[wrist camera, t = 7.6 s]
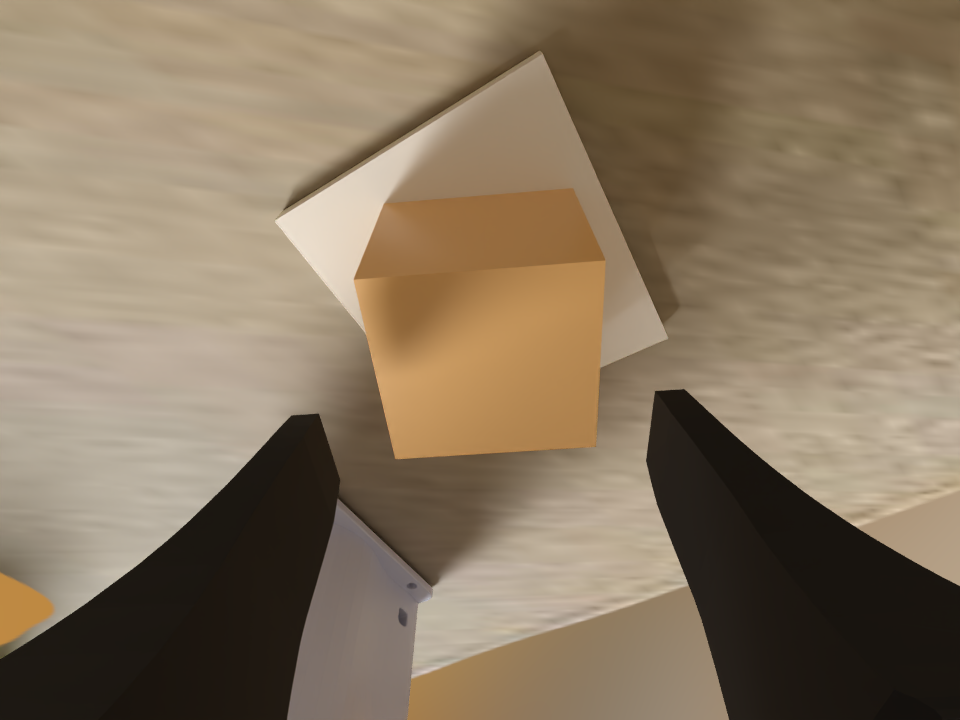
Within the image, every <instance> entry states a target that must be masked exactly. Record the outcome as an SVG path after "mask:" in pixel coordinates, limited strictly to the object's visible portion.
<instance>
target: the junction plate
mask: <svg viewBox="0 0 960 720" xmlns="http://www.w3.org/2000/svg"><path fill="white" fill-rule="evenodd" d="M568 188H573V189H574V191H575V194H576V196H577V198H578V200H579V202H580V205H581V207H582V209H583V211H584V213H585V216H586V218H587V220H588V222H589V224H590V227H591V229H592V231H593V233H594V235H595V238H596V240H597V242H598V244H599V246H600V249H601V251H602V253H603V255H604V258H605V260H606V267H605V286H604V304H603V323H602V342H601V360H600V368H601V367H604V366H606V365H608V364H611V363H613V362H615V361H618V360H620V359H622V358H624V357H627V356H629V355H631V354H634V353H636V352H638V351H641V350H643V349H645V348H647V347H650V346H652V345H654V344H657V343H659V342H661V341H664V340H666V339H668V336H667V334H666V331H665V329H664V327H663V325H662V322H661V320H660V318H659V316H658V313H657V311H656V309H655V307H654V304H653V302H652V300H651V298H650V295H649V293H648V291H647V289H646V286H645V284H644V282H643V279H642V277H641V275H640V273H639V270H638V268H637V266H636V264H635V261H634V259H633V257H632V255H631V252H630V250H629V248H628V246H627V243H626V241H625V239H624V236H623V234H622V232H621V230H620V227H619V225H618V223H617V221H616V218H615V216H614V214H613V212H612V209H611V207H610V205H609V203H608V200H607V198H606V196H605V193H604V191H603V189H602V187H601V184H600V182H599V180H598V178H597V175H596V173H595V171H594V169H593V166H592V164H591V162H590V160H589V157H588V155H587V153H586V150H585V148H584V146H583V144H582V141H581V139H580V137H579V135H578V132H577V130H576V128H575V126H574V123H573V121H572V119H571V117H570V114H569V112H568V110H567V107H566V105H565V103H564V101H563V98H562V96H561V94H560V92H559V89H558V87H557V85H556V83H555V80H554V78H553V76H552V74H551V71H550V69H549V67H548V64H547V62H546V60H545V58H544V55H543V53H542V52H541V51H538V52H536V53H535V54H533V55H532V56H530V57H528V58H527V59H525V60H524V61H522V62H520V63H519V64H517V65H516V66H514V67H512V68H511V69H509V70H508V71H506V72H504V73H503V74H501V75H500V76H498V77H496V78H495V79H493V80H492V81H490V82H488V83H487V84H485V85H484V86H482V87H480V88H479V89H477V90H476V91H474V92H472V93H471V94H469V95H468V96H466V97H464V98H463V99H461V100H460V101H458V102H456V103H455V104H453V105H452V106H450V107H448V108H447V109H445V110H444V111H442V112H440V113H439V114H437V115H436V116H434V117H432V118H431V119H429V120H428V121H426V122H424V123H423V124H421V125H420V126H418V127H416V128H415V129H413V130H412V131H410V132H408V133H407V134H405V135H404V136H402V137H400V138H399V139H397V140H396V141H394V142H392V143H391V144H389V145H388V146H386V147H384V148H383V149H381V150H380V151H378V152H376V153H375V154H373V155H372V156H370V157H368V158H367V159H365V160H364V161H362V162H360V163H359V164H357V165H356V166H354V167H352V168H351V169H349V170H348V171H346V172H344V173H343V174H341V175H340V176H338V177H336V178H335V179H333V180H332V181H330V182H328V183H327V184H325V185H324V186H322V187H320V188H319V189H317V190H316V191H314V192H312V193H311V194H309V195H308V196H306V197H304V198H303V199H301V200H300V201H298V202H296V203H295V204H293V205H292V206H290V207H288V208H287V209H285V210H284V211H282V212H281V213H280V215H279V216H278V217H277V218H276V220H275V222H276V223H277V225H278V226H279V227H280V228H281V230H282V231H283V232H284V233H285V235H286V236H287V237H288V238H289V239H290V241H291V242H292V243H293V244H294V246H295V247H296V248H297V249H298V251H299V252H300V253H301V254H302V256H303V257H304V258H305V259H306V260H307V262H308V263H309V264H310V265H311V267H312V268H313V269H314V270H315V272H316V273H317V274H318V275H319V277H320V278H321V279H322V280H323V281H324V283H325V284H326V285H327V286H328V288H329V289H330V290H331V291H332V293H333V294H334V295H335V296H336V298H337V299H338V300H339V301H340V302H341V304H342V305H343V306H344V307H345V309H346V310H347V311H348V312H349V314H350V315H351V316H352V317H353V319H354V320H355V321H356V322H357V323H358V325H359V326H360V327H361V328H362V330H363V331H364V332H365V333H366V331H365V327H364V323H363V319H362V314H361V310H360V306H359V301H358V297H357V293H356V289H355V284H354V280H353V279H354V277H355V274H356V272H357V269H358V267H359V264H360V262H361V259H362V257H363V254H364V252H365V249H366V247H367V244H368V242H369V239H370V237H371V234H372V232H373V229H374V227H375V224H376V222H377V219H378V217H379V215H380V212H381V210H382V207H383V205H384V203H397V202H409V201H421V200H433V199H446V198H458V197H470V196H482V195H495V194H507V193H519V192H531V191H544V190H556V189H568Z"/></svg>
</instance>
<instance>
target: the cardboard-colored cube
mask: <svg viewBox="0 0 960 720" xmlns="http://www.w3.org/2000/svg"><path fill="white" fill-rule="evenodd" d="M605 267H606V260H605V258H604V255H603V253H602V251H601V249H600V246H599V244H598V242H597V240H596V238H595V235H594V233H593V231H592V229H591V227H590V224H589V222H588V220H587V218H586V216H585V213H584V211H583V209H582V207H581V205H580V202H579V200H578V198H577V196H576V194H575V191H574V189H573V188H568V189H556V190H544V191H531V192H519V193H507V194H495V195H482V196H470V197H458V198H446V199H433V200H421V201H409V202H397V203H384V205H383V207H382V210H381V212H380V215H379V217H378V219H377V222H376V224H375V227H374V229H373V232H372V234H371V237H370V239H369V242H368V244H367V247H366V249H365V252H364V254H363V257H362V259H361V262H360V264H359V267H358V269H357V272H356V274H355V277H354V279H353V280H354V284H355V289H356V293H357V297H358V301H359V306H360V310H361V314H362V319H363V323H364V327H365V331H366V336H367V340H368V344H369V349H370V353H371V357H372V361H373V366H374V370H375V374H376V379H377V383H378V387H379V391H380V396H381V400H382V404H383V409H384V413H385V417H386V421H387V426H388V430H389V434H390V439H391V443H392V447H393V451H394V456H395V459H408V458H424V457H440V456H456V455H472V454H488V453H504V452H520V451H536V450H552V449H568V448H584V447H596V435H597V417H598V398H599V379H600V360H601V342H602V323H603V304H604V286H605Z"/></svg>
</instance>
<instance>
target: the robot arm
mask: <svg viewBox="0 0 960 720" xmlns="http://www.w3.org/2000/svg"><path fill="white" fill-rule="evenodd" d="M646 462H647V466H648V470H649V475H650V479H651V483H652V487H653V491H654V494H655V498H656V502H657V505H658V508H659V510H660V513H661V516H662V518H663V521H664V523H665V526H666V529H667V531H668V534H669V536H670V539H671V541H672V544H673V546H674V549H675V551H676V554H677V557H678V559H679V562H680V564H681V567H682V569H683V572H684V574H685V577H686V579H687V582H688V584H689V587H690V589H691V592H692V594H693V597H694V599H695V602H696V605H697V608H698V611H699V614H700V616H701V619H702V623H703V626H704V629H705V633H706V637H707V640H708V644H709V647H710V651H711V654H712V658H713V661H714V665H715V668H716V671H717V675H718V679H719V683H720V687H721V691H722V694H723V698H724V702H725V705H726V709H727V713H728V716H729V720H960V586H958V585H956V584H955V583H952V582H950V581H949V580H947V579H945V578H942V577H941V576H939V575H937V574H935V573H934V572H932V571H930V570H928V569H926V568H924V567H922V566H921V565H919V564H917V563H915V562H913V561H912V560H910V559H908V558H906V557H905V556H903V555H901V554H899V553H898V552H896V551H894V550H893V549H891V548H889V547H887V546H886V545H884V544H882V543H880V542H879V541H877V540H876V539H874V538H872V537H870V536H869V535H867V534H866V533H864V532H863V531H861V530H859V529H858V528H856V527H855V526H853V525H852V524H850V523H849V522H847V521H846V520H844V519H843V518H841V517H840V516H838V515H837V514H835V513H834V512H832V511H831V510H829V509H828V508H826V507H825V506H823V505H822V504H820V503H819V502H817V501H816V500H815V499H813V498H812V497H810V496H809V495H808V494H806V493H805V492H803V491H802V490H801V489H799V488H798V487H797V486H796V485H794V484H793V483H792V482H790V481H789V480H788V479H786V478H785V477H784V476H783V475H781V474H780V473H779V472H777V471H776V470H775V469H774V468H772V467H771V466H770V465H769V464H767V463H766V462H765V461H764V460H762V459H761V458H760V457H759V456H758V455H757V454H755V453H754V452H753V451H752V450H751V449H750V448H748V447H747V446H746V445H745V444H744V443H743V442H741V441H740V440H739V439H738V438H737V437H736V436H735V435H734V434H732V433H731V432H730V431H729V430H728V429H727V428H726V427H725V426H724V425H723V424H721V423H720V422H719V421H718V420H717V419H716V418H715V417H714V416H713V415H712V414H711V413H710V412H708V411H707V410H706V409H705V408H704V407H703V406H702V405H701V404H700V403H699V402H698V401H697V400H695V399H694V398H693V397H692V396H691V395H690V394H689V393H688V392H687V391H686V390H685V389H681V390H666V391H655V396H654V403H653V411H652V419H651V427H650V435H649V443H648V451H647V459H646ZM339 484H340V478H339V475H338V472H337V469H336V466H335V463H334V459H333V456H332V453H331V450H330V447H329V444H328V441H327V437H326V434H325V431H324V428H323V425H322V422H321V419H320V415H319V414H308V415H293V416H291V417H290V418H289V419H288V420H287V421H286V422H285V423H284V424H283V425H282V426H281V427H280V428H279V429H278V430H277V431H276V432H275V434H274V435H273V436H272V437H271V438H270V439H269V440H268V441H267V442H266V443H265V445H264V446H263V447H262V448H261V449H260V450H259V451H258V452H257V453H256V454H255V455H254V457H253V458H252V459H251V460H250V461H249V462H248V463H247V464H246V465H245V466H244V467H243V468H242V469H241V470H240V471H239V472H238V473H237V475H236V476H235V477H234V478H233V479H232V480H231V481H230V482H229V483H228V484H227V485H226V486H225V487H224V488H223V489H222V490H221V491H220V492H219V493H218V494H217V495H216V496H215V497H214V498H213V499H212V500H211V501H210V502H209V503H208V504H206V505H205V506H204V507H203V508H202V509H201V510H200V511H199V512H198V513H197V514H196V515H195V516H194V517H193V518H192V519H191V520H190V521H189V522H188V523H187V524H186V525H185V526H183V527H182V528H181V529H180V530H179V531H178V532H177V533H176V534H174V535H173V536H172V537H171V538H170V539H169V540H168V541H166V542H165V543H164V544H163V545H162V546H160V547H159V548H158V549H157V550H156V551H154V552H153V553H152V554H151V555H150V556H148V557H147V558H146V559H145V560H143V561H142V562H141V563H140V564H138V565H137V566H136V567H135V568H133V569H132V570H131V571H129V572H128V573H127V574H125V575H124V576H123V577H121V578H120V579H119V580H117V581H116V582H115V583H113V584H112V585H110V586H109V587H108V588H106V589H105V590H104V591H102V592H101V593H100V594H98V595H97V596H96V597H94V598H93V599H92V600H90V601H89V602H88V603H86V604H85V605H83V606H82V607H80V608H79V609H78V610H76V611H75V612H73V613H72V614H70V615H69V616H67V617H66V618H64V619H63V620H61V621H60V622H58V623H57V624H55V625H54V626H52V627H51V628H49V629H48V630H46V631H45V632H43V633H41V634H40V635H38V636H37V637H35V638H34V639H32V640H31V641H29V642H27V643H26V644H24V645H23V646H21V647H20V648H18V649H16V650H15V651H13V652H11V653H10V654H8V655H7V656H5V657H3V658H2V659H0V720H407V715H408V706H409V695H410V683H411V673H412V662H413V652H414V641H415V630H416V619H417V608H418V603H421V602H424V601H427V600H429V599H431V598H432V592H433V589H432V587H431V586H430V585H429V584H428V583H427V582H425V581H424V580H423V579H422V578H421V577H420V576H419V575H418V574H417V573H416V572H415V571H414V570H413V569H412V568H411V567H410V566H409V565H408V564H406V563H405V562H404V561H403V560H402V559H401V558H400V557H399V556H398V555H397V554H396V553H395V552H394V551H393V550H392V549H391V548H390V547H388V546H387V545H386V544H385V543H384V542H383V541H382V540H381V539H380V538H379V537H378V536H377V535H376V534H375V533H374V532H373V531H372V530H371V529H369V528H368V527H367V526H366V525H365V524H364V523H363V522H362V521H361V520H360V519H359V518H358V517H357V516H356V515H355V514H354V513H353V512H352V511H350V510H349V509H348V508H347V507H346V506H345V505H344V504H343V503H342V502H341V501H340V500H339V499H338V492H339Z"/></svg>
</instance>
